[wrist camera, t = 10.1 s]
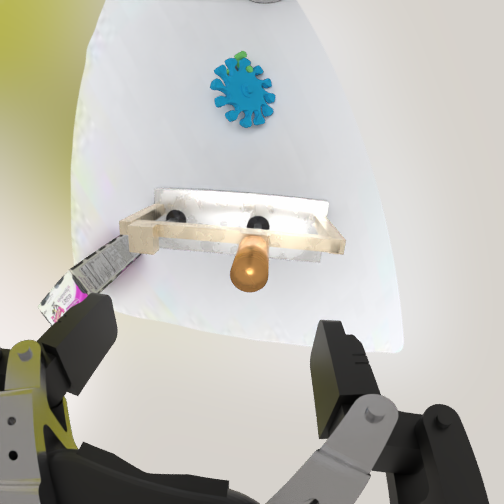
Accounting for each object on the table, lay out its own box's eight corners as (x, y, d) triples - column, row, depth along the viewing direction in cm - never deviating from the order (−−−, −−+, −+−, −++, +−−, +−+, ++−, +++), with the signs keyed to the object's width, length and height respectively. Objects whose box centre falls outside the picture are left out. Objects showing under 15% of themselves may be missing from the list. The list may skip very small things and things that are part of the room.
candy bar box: (107, 285, 46) (56, 334, 31) (90, 264, 45) (35, 307, 30) (145, 253, 44) (92, 301, 28) (127, 229, 42) (66, 268, 27)
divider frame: (158, 187, 40) (111, 204, 27) (326, 200, 39) (353, 223, 26) (158, 244, 43) (117, 281, 30) (318, 259, 42) (337, 304, 29)
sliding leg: (248, 209, 38) (231, 254, 22) (270, 211, 38) (270, 258, 21) (246, 232, 39) (229, 291, 23) (268, 234, 39) (266, 294, 23)
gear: (279, 131, 35) (216, 119, 28) (250, 137, 39) (190, 130, 33) (276, 61, 32) (218, 40, 26) (249, 73, 37) (193, 58, 30)
